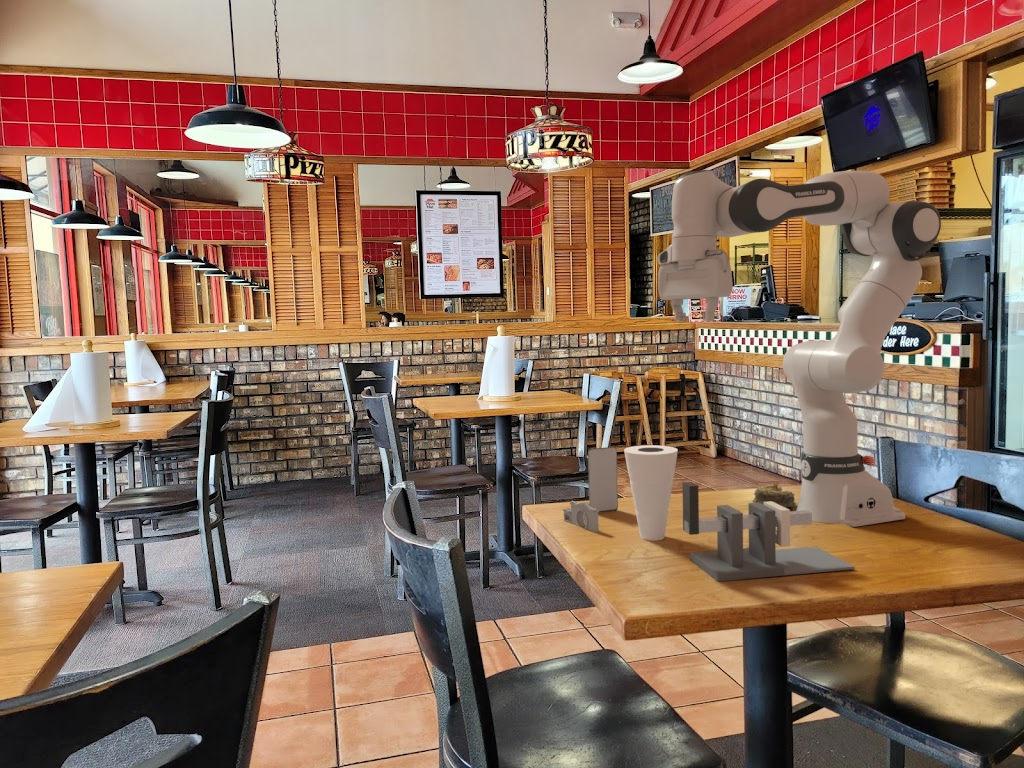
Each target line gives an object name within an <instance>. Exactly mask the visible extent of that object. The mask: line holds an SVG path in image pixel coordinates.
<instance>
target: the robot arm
mask: <svg viewBox="0 0 1024 768" xmlns="http://www.w3.org/2000/svg"><path fill="white" fill-rule="evenodd" d="M672 189H673V190H672V196H671V219H672V224H673V229H672V230H673V232H672V235H671V244H670V245H669V246H667V248H666V249H664V250H663V251H662V252H660V253H658V255H657V264H658V265H660V266H659V268H658V277H657V278H658V279H657V282H658V284H657V285H658V287H657V288H658V295H659V298H660V299H661V300H662V301H670V306H671V309H672V311H673V313H674V321H675V322H681V323H682V322H685V321H686V320H687V319H686V315H687V313H686V312H684V309H683V306H682V305H684V300H693V299H696V300H697V299H705V304H706V306H705V307H706V308H705V310H704V311H705V312H704V311H703V312H702V321H703V322H714V321H715V313H716V310H717V308H718V306H719V303H720V302H719V301H720V299H719V298H727V297H731V294H732V293H733V289H734V288H733V277H732V276H733V274H732V267H731V263H730V261H729V260H730V259H729V255H728V253H727V252H726V251H725V249H723V248H719V249H717V237H720V238H727V239H728V238H735V237H740V236H744V235H750V234H755V233H766V232H768V231H771V230H774V229H775V228H776V227H778V226H779V225H781V224H782V223H783V222H785V221H787V220H789V219H795V218H802V217H803V218H804V219H805V221H806V222H807V223H809V224H810V225H812V226H825V227H826V226H838V225H841V238H842V241H843V244H844V245H843V246H845V248H846V250H847V251H848V252H849V253H852V254H854V255H857V256H863V257H870V256H872V261H871V265H870V267H869V268H868V271H866V273H864V275H863V277H861V279H860V281H858V283H857V284H856V285H855V286H854V288H853V290H852V291H851V293H850V294H849V295H848V297H847V298H846V299H845V301H844V302H843V303H842V305H841V306H840V308H839V310H838V312H837V318H838V321H839V324H840V325H839V326H838V327H839V328H838V330H837V332H836V334H835V336H833V337H832V338H831V339H830V340H816V339H815V340H806V341H803V342H800V343H797V344H794V345H792V346H791V347H789V348H788V349H787V350H786V352H785V354H784V356H783V359H782V371H783V373H784V375H785V377H786V379H787V380H788V381H789V382H790V383H791V385H792V387H793V389H794V391H795V392H794V393H795V394H796V398H797V401H798V405H799V407H800V413H801V418H802V436H803V437H802V439H803V442H802V444H803V445H802V446H803V448H802V449H803V451H802V452H800V453H801V458H800V461H801V462H800V473H801V477H802V480H801V487H800V493H799V499H798V503H797V508H796V510H795V511H802V510H806V511H809V512H811V513H812V522H815V523H816V522H817V523H823V524H831V525H832V524H833V525H836V524H843V525H846V526H848V527H854V528H855V527H862V526H868V525H874V524H876V525H877V524H881V523H886V522H887V523H888V522H894V521H899V520H905V519H906V514H905V512H904V511H903V510H901V509H899V508H897V507H895V506H894V500H893V499H894V498H893V495H892V492H891V490H890V488H889V487H888V486H887V485H886V484H884V483H883V482H882V481H880V480H879V479H877V478H876V477H875V476H874V475H872V474H871V473H869V472H868V471H867V470H866V467H865V465H867V466H869V467H872V466H875V465H874V464H875V463H876V459H875V458H874V456H871V455H870V456H869V455H864V456H863V455H861V454H860V453H858V441H859V440H858V430H859V429H858V428H859V427H858V423H859V422H858V419H857V416H856V415H855V413H854V412H853V411H852V410H851V409H850V407H849V405H848V403H847V401H846V398H845V396H844V394H855V393H862V392H867V391H870V390H872V389H874V388H876V386H877V385H879V383H880V382H881V381H882V379H883V376H884V372H885V362H884V359H883V357H882V354H881V351H882V346H883V344H884V341H885V339H886V336H887V334H888V333H889V332H890V331H891V328H892V327H893V326H894V324H895V323H896V321H897V320H898V318H900V316H901V314H902V313H903V312H904V310H905V309H906V307H907V305H909V303H910V301H911V299H912V298H913V296H914V294H915V292H916V290H917V288H918V286H919V283H920V282H921V279H922V276H923V268H922V265H921V263H920V262H919V261H920V260H922V259H923V258H925V257H927V256H928V255H929V253H930V252H931V248H932V247H933V246H934V244H935V243H936V241H937V239H938V237H939V235H940V232H941V229H942V226H941V225H942V221H941V215H940V211H939V210H938V208H936V207H935V206H934V205H933V204H932V203H930V202H925V201H921V200H909V201H907V202H906V201H902V202H893V203H892V202H891V200H890V199H889V198H890V187H889V183H888V182H887V180H886V178H885V177H884V176H883V175H882V174H879V173H877V172H874V171H868V170H842V171H834V172H829V173H825V174H820V175H817V176H815V177H812V178H809V179H807V180H806V181H805V183H800V184H787V185H786V184H782V183H780V182H777V181H774V180H770V179H768V178H755V179H752V180H750V181H748V182H746V183H743V184H741V185H738V186H735V187H734V186H731V185H729V184H727V183H725V182H724V181H722V180H721V179H720V178H718V177H717V176H716V175H715V173H714V171H712V170H710V169H701V170H695V171H692V172H687V173H685V174H682V175H680V176H679V177H678V178H677V179H676V180H675V182H674V184H673V188H672Z"/></svg>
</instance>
